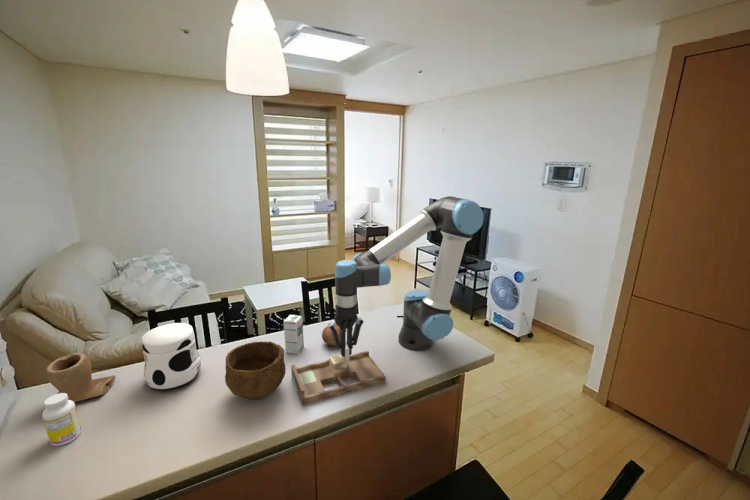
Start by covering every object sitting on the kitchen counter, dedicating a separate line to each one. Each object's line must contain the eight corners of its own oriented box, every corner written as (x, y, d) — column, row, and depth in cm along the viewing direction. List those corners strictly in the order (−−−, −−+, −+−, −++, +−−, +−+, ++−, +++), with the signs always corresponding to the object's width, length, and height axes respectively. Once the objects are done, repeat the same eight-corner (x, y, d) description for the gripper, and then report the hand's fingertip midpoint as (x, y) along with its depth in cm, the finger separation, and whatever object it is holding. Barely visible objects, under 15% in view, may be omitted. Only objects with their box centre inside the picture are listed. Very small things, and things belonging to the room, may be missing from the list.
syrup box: (298, 354, 137) (297, 321, 133) (284, 352, 138) (283, 320, 134) (304, 347, 142) (302, 315, 139) (291, 345, 143) (289, 314, 140)
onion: (332, 345, 149) (333, 322, 151) (348, 347, 144) (349, 323, 146) (316, 346, 142) (317, 322, 144) (332, 348, 136) (333, 322, 138)
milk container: (139, 378, 120) (131, 333, 115) (191, 359, 132) (186, 317, 128) (154, 402, 109) (146, 352, 104) (209, 378, 121) (204, 333, 116)
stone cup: (45, 415, 102) (34, 372, 98) (61, 391, 113) (51, 351, 109) (107, 402, 108) (98, 360, 105) (117, 380, 119) (109, 342, 115)
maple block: (342, 363, 127) (342, 354, 126) (346, 370, 123) (346, 361, 122) (329, 366, 125) (329, 357, 124) (333, 374, 121) (333, 364, 120)
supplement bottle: (63, 428, 97) (53, 390, 94) (87, 427, 98) (78, 389, 95) (43, 448, 91) (31, 407, 88) (69, 446, 91) (59, 406, 88)
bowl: (297, 382, 119) (295, 345, 116) (264, 419, 102) (260, 376, 98) (253, 371, 125) (250, 335, 122) (214, 404, 108) (209, 363, 104)
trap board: (367, 359, 134) (367, 347, 133) (385, 382, 121) (385, 368, 119) (291, 378, 122) (291, 364, 120) (301, 405, 108) (301, 391, 107)
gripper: (359, 297, 125) (358, 353, 131) (325, 302, 119) (326, 361, 125) (367, 305, 118) (366, 364, 124) (331, 311, 113) (332, 372, 119)
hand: (346, 362), depth 125 cm, fingers closed
